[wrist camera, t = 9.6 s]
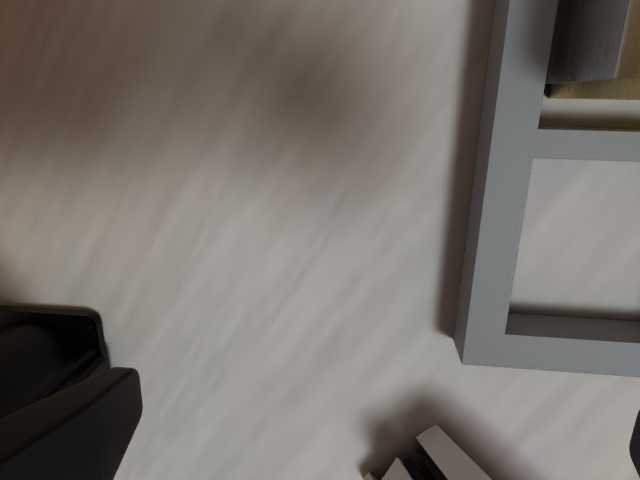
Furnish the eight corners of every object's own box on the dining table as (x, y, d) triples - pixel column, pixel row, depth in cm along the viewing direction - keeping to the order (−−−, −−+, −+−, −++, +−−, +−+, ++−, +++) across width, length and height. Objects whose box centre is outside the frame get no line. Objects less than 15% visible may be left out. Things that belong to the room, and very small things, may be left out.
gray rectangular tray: (453, 339, 21) (462, 364, 19) (512, -136, 15) (532, -170, 13) (688, 355, 20) (722, 383, 18) (839, -144, 14) (911, -181, 12)
